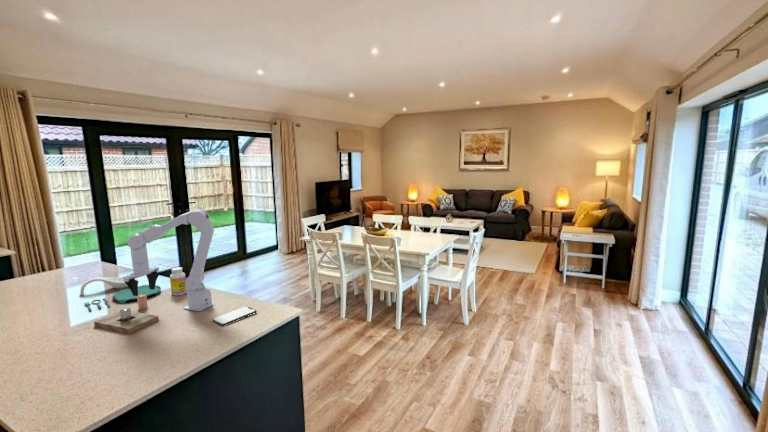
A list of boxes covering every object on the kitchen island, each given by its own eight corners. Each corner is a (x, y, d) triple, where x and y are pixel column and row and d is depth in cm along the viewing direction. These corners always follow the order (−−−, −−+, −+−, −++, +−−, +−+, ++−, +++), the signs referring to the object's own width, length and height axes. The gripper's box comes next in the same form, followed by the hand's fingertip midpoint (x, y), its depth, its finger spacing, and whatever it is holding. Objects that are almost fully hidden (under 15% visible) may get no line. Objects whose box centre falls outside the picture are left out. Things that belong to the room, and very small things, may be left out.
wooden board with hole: (158, 320, 150) (158, 316, 149) (130, 333, 139) (129, 329, 138) (124, 314, 156) (123, 309, 156) (94, 326, 145) (93, 321, 145)
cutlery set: (166, 295, 178) (165, 290, 178) (88, 315, 158) (88, 310, 157) (155, 285, 192) (154, 281, 192) (83, 303, 171) (82, 298, 171)
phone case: (222, 328, 144) (258, 313, 156) (222, 324, 143) (257, 310, 156) (211, 322, 149) (246, 308, 161) (210, 319, 149) (246, 305, 161)
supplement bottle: (180, 296, 176) (177, 271, 174) (168, 295, 177) (165, 270, 175) (190, 291, 182) (187, 266, 180) (178, 290, 184) (176, 266, 182)
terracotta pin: (149, 307, 163) (148, 294, 162) (142, 310, 160) (140, 297, 159) (144, 306, 164) (142, 293, 163) (136, 309, 161) (134, 296, 160)
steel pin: (134, 322, 148) (132, 308, 147) (125, 326, 145) (123, 311, 144) (128, 321, 150) (126, 307, 149) (119, 324, 146) (117, 310, 145)
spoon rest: (136, 281, 199) (134, 268, 198) (138, 287, 190) (137, 274, 189) (80, 291, 185) (78, 278, 183) (80, 298, 176) (78, 284, 174)
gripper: (149, 256, 162) (152, 285, 164) (116, 265, 148) (120, 297, 150) (161, 257, 159) (164, 287, 162) (128, 267, 146) (132, 299, 148)
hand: (144, 292), depth 156 cm, fingers open, 7 cm apart
